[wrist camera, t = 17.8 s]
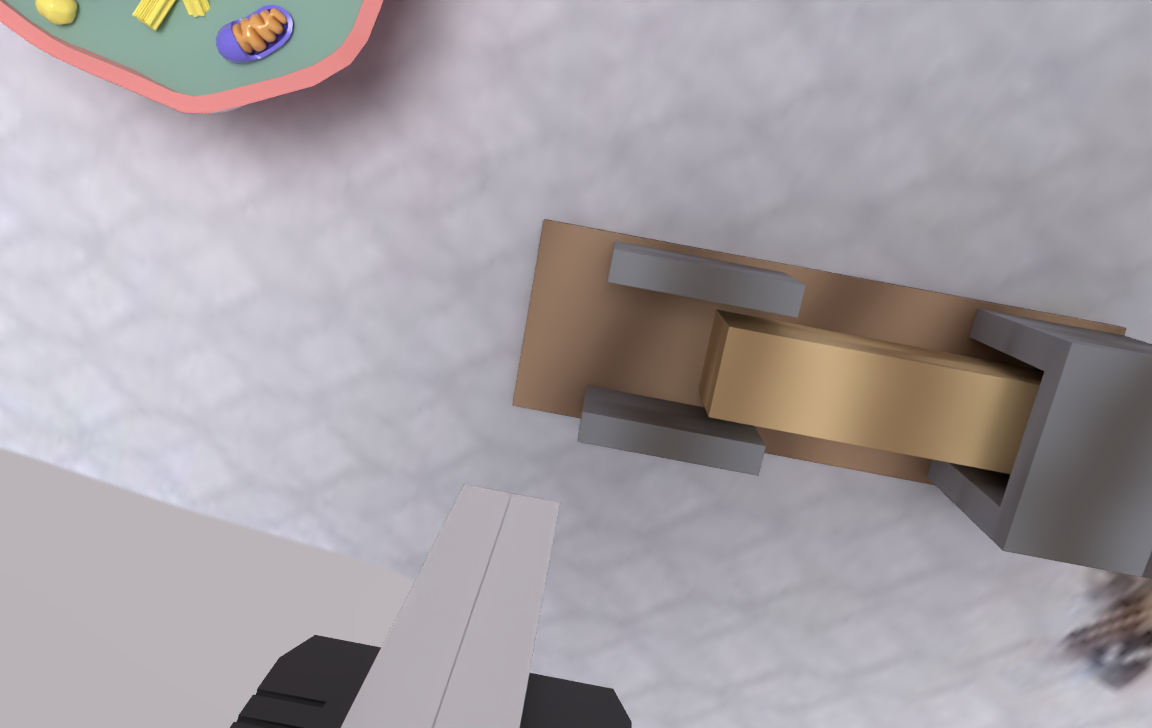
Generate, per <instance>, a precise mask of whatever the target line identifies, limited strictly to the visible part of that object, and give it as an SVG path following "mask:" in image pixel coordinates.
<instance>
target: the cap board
mask: <svg viewBox="0 0 1152 728" xmlns="http://www.w3.org/2000/svg"><path fill="white" fill-rule="evenodd" d="M716 309H717V310H723V311H728V312H733V313H739V314H744V315H749V316H755V317H760V318H765V319H771V320H776V321H781V322H787V323H792V324H797V325H803V326H808V327H813V328H819V329H824V330H829V331H835V332H840V333H845V334H851V335H856V336H861V337H867V338H872V339H877V340H883V341H888V342H894V343H899V344H904V345H910V346H915V347H920V348H926V349H931V350H936V351H942V352H947V353H952V354H958V355H963V356H968V357H974V358H979V359H984V360H990V361H995V362H1000V363H1006V364H1011V365H1016V366H1022V367H1027V368H1032V369H1038V370H1043V371H1044V374H1043V377H1042V381H1041V384H1040V387H1039V390H1038V393H1037V396H1036V399H1035V402H1034V405H1033V408H1032V411H1031V414H1030V417H1029V420H1028V423H1027V426H1026V429H1025V432H1024V435H1023V439H1022V442H1021V445H1020V448H1019V451H1018V454H1017V457H1016V460H1015V463H1014V466H1013V469H1012V472H1011V474H1008V473H1002V472H997V471H992V470H986V469H981V468H976V467H970V466H965V465H960V464H954V463H949V462H944V461H939V460H933V459H928V458H923V457H917V456H912V455H907V454H901V453H896V452H891V451H886V450H880V449H875V448H870V447H864V446H859V445H854V444H848V443H843V442H838V441H833V440H827V439H822V438H817V437H811V436H806V435H801V434H795V433H790V432H785V431H779V430H774V429H769V428H764V427H758V426H753V425H748V424H742V423H737V422H732V421H726V420H721V419H716V418H711V417H708V414H707V412H706V409H705V406H704V404H703V401H702V398H701V396H700V393H699V390H698V389H699V385H700V380H701V376H702V371H703V367H704V362H705V358H706V353H707V349H708V344H709V340H710V335H711V331H712V327H713V322H714V318H715V313H716ZM1125 331H1126V328H1123V327H1120V326H1116V325H1110V324H1105V323H1100V322H1094V321H1089V320H1084V319H1078V318H1073V317H1067V316H1062V315H1057V314H1051V313H1046V312H1041V311H1035V310H1030V309H1024V308H1019V307H1014V306H1008V305H1003V304H998V303H992V302H987V301H981V300H976V299H971V298H965V297H960V296H955V295H949V294H944V293H938V292H933V291H928V290H922V289H917V288H912V287H906V286H901V285H895V284H890V283H885V282H879V281H874V280H869V279H863V278H858V277H852V276H847V275H842V274H836V273H831V272H826V271H820V270H815V269H809V268H804V267H799V266H793V265H788V264H783V263H777V262H772V261H766V260H761V259H756V258H750V257H745V256H740V255H734V254H729V253H723V252H718V251H713V250H707V249H702V248H697V247H691V246H686V245H680V244H675V243H670V242H664V241H659V240H654V239H648V238H643V237H637V236H632V235H627V234H621V233H616V232H611V231H605V230H600V229H594V228H589V227H584V226H578V225H573V224H568V223H562V222H557V221H551V220H546V219H545V220H544V221H543V227H542V233H541V239H540V245H539V251H538V256H537V262H536V268H535V274H534V280H533V286H532V292H531V298H530V304H529V310H528V316H527V322H526V328H525V334H524V340H523V346H522V352H521V357H520V363H519V369H518V375H517V381H516V387H515V393H514V399H513V406H518V407H523V408H529V409H534V410H539V411H545V412H550V413H555V414H561V415H566V416H571V417H577V418H581V422H580V428H579V435H578V441H577V442H583V443H588V444H593V445H598V446H604V447H609V448H614V449H620V450H625V451H630V452H636V453H641V454H646V455H651V456H657V457H662V458H667V459H673V460H678V461H683V462H688V463H694V464H699V465H704V466H710V467H715V468H720V469H726V470H731V471H736V472H741V473H747V474H752V475H757V476H758V475H759V471H760V467H761V463H762V459H763V455H764V453H768V454H773V455H778V456H783V457H789V458H794V459H799V460H805V461H810V462H815V463H821V464H826V465H831V466H836V467H842V468H847V469H852V470H858V471H863V472H868V473H874V474H879V475H884V476H890V477H895V478H900V479H905V480H911V481H916V482H921V483H927V484H932V485H936V486H937V487H938V488H939V489H940V490H941V491H942V492H943V493H944V494H945V495H946V496H947V497H948V498H949V499H950V500H951V501H952V502H953V503H954V504H956V505H957V506H958V507H959V508H960V509H961V510H962V511H963V512H964V513H965V514H966V515H967V516H968V517H969V518H970V519H971V520H972V521H973V522H974V523H975V524H976V525H977V526H978V527H979V528H980V529H981V530H982V531H983V532H984V533H985V534H986V535H987V536H988V537H989V538H990V539H992V540H993V541H994V542H995V543H996V544H997V545H998V546H999V547H1000V548H1001V549H1002V550H1003V551H1007V552H1012V553H1018V554H1023V555H1028V556H1034V557H1039V558H1044V559H1049V560H1055V561H1060V562H1065V563H1071V564H1076V565H1081V566H1086V567H1092V568H1097V569H1102V570H1108V571H1113V572H1118V573H1123V574H1129V575H1134V576H1139V577H1145V578H1150V579H1152V344H1149V343H1146V342H1143V341H1139V340H1136V339H1133V338H1130V337H1127V336H1124V334H1125Z"/></svg>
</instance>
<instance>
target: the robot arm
mask: <svg viewBox="0 0 1152 728" xmlns="http://www.w3.org/2000/svg"><path fill="white" fill-rule="evenodd" d="M559 507H560V502H555V501H550V500H544V499H539V498H534V497H529V496H523V495H518V494H513V493H507V492H502V491H497V490H492V489H486V488H481V487H476V486H471V485H465V484H464V485H463V487H462V489H461V491H460V493H459V495H458V497H457V499H456V501H455V503H454V505H453V507H452V509H451V511H450V513H449V515H448V517H447V519H446V521H445V523H444V525H443V527H442V529H441V531H440V533H439V535H438V537H437V539H436V540H435V542H434V544H433V546H432V548H431V550H430V552H429V554H428V556H427V558H426V560H425V562H424V564H423V566H422V568H421V570H420V572H419V574H418V576H417V578H416V580H415V582H414V584H413V586H412V588H411V590H410V592H409V594H408V596H407V598H406V600H405V602H404V604H403V606H402V608H401V610H400V612H399V614H398V616H397V618H396V620H395V621H394V623H393V625H392V627H391V629H390V631H389V633H388V635H387V637H386V640H385V641H384V643H383V645H382V647H381V648H380V647H375V646H370V645H365V644H360V643H354V642H349V641H344V640H339V639H333V638H328V637H323V636H318V635H314V636H313V637H311V638H310V639H308V640H306V641H305V642H303V643H302V644H300V645H299V646H297V647H295V648H294V649H292V650H291V651H289V652H288V653H286V654H284V655H283V656H281V657H280V658H279V659H278V660H277V662H276V663H275V665H274V666H273V667H272V669H271V670H270V672H269V673H268V675H267V676H266V677H265V679H264V680H263V681H262V683H261V684H260V686H259V687H258V689H257V693H256V695H253V696H252V697H251V698H250V700H249V701H248V703H247V704H246V705H245V707H244V708H243V710H242V711H241V713H240V714H239V717H238V720H237V722H233V724H232V725H231V727H230V728H632V727H631V720H630V718H629V717H628V715H627V713H626V711H625V709H624V708H623V706H622V704H621V702H620V700H619V699H618V697H617V695H616V693H615V691H614V690H613V689H611V688H606V687H600V686H595V685H590V684H585V683H580V682H574V681H569V680H564V679H559V678H554V677H548V676H543V675H538V674H533V673H529V672H530V667H531V661H532V656H533V650H534V645H535V639H536V634H537V628H538V623H539V617H540V612H541V606H542V601H543V595H544V590H545V584H546V579H547V573H548V568H549V562H550V557H551V551H552V546H553V540H554V535H555V529H556V524H557V518H558V513H559Z"/></svg>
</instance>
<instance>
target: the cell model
mask: <svg viewBox="0 0 1152 728" xmlns="http://www.w3.org/2000/svg"><path fill="white" fill-rule="evenodd" d="M382 3H383V0H0V22H2V23H3V24H4V25H6V26H7V27H8V28H10V29H11V30H13V31H14V32H15V33H17V34H18V35H20V36H21V37H22V38H24V39H25V40H26V41H28V42H29V43H31V44H32V45H34V46H36V47H38V48H39V49H41V50H43V51H44V52H46V53H48V54H50V55H51V56H53V57H55V58H57V59H60V60H62V61H64V62H66V63H68V64H71V65H73V66H75V67H77V68H79V69H81V70H84V71H86V72H88V73H90V74H92V75H95V76H97V77H100V78H102V79H105V80H107V81H110V82H112V83H114V84H117V85H119V86H122V87H124V88H126V89H129V90H131V91H133V92H135V93H138V94H140V95H142V96H144V97H147V98H149V99H151V100H154V101H156V102H159V103H161V104H163V105H166V106H168V107H171V108H173V109H176V110H178V111H180V112H183V113H219V112H228V111H232V110H235V109H238V108H240V107H242V106H243V105H247V104H250V103H254V102H258V101H261V100H265V99H268V98H272V97H276V96H279V95H283V94H286V93H290V92H294V91H297V90H301V89H304V88H308V87H312V86H315V85H316V84H318V83H320V82H321V81H323V80H325V79H326V78H328V77H330V76H332V75H333V74H335V73H337V72H338V71H340V70H342V69H343V68H345V67H347V66H348V65H350V64H351V63H352V62H353V60H354V59H355V58H356V56H357V55H358V53H359V52H360V51H361V49H362V48H363V47H364V45H365V44H366V42H367V41H368V39H369V36H370V34H371V31H372V29H373V26H374V24H375V21H376V19H377V16H378V13H379V11H380V8H381V6H382Z"/></svg>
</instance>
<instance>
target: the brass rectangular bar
mask: <svg viewBox="0 0 1152 728" xmlns="http://www.w3.org/2000/svg"><path fill="white" fill-rule="evenodd" d="M1043 374H1044V371H1043V370H1038V369H1032V368H1027V367H1022V366H1016V365H1011V364H1006V363H1000V362H995V361H990V360H984V359H979V358H974V357H968V356H963V355H958V354H952V353H947V352H942V351H936V350H931V349H926V348H920V347H915V346H910V345H904V344H899V343H894V342H888V341H883V340H877V339H872V338H867V337H861V336H856V335H851V334H845V333H840V332H835V331H829V330H824V329H819V328H813V327H808V326H803V325H797V324H792V323H787V322H781V321H776V320H771V319H765V318H760V317H755V316H749V315H744V314H739V313H733V312H728V311H723V310H717V309H716V313H715V318H714V322H713V327H712V331H711V335H710V340H709V344H708V349H707V353H706V358H705V362H704V367H703V371H702V376H701V380H700V385H699V389H698V390H699V393H700V396H701V398H702V401H703V404H704V406H705V409H706V412H707V414H708V417H711V418H716V419H721V420H726V421H732V422H737V423H742V424H748V425H753V426H758V427H764V428H769V429H774V430H779V431H785V432H790V433H795V434H801V435H806V436H811V437H817V438H822V439H827V440H833V441H838V442H843V443H848V444H854V445H859V446H864V447H870V448H875V449H880V450H886V451H891V452H896V453H901V454H907V455H912V456H917V457H923V458H928V459H933V460H939V461H944V462H949V463H954V464H960V465H965V466H970V467H976V468H981V469H986V470H992V471H997V472H1002V473H1008V474H1011V472H1012V469H1013V466H1014V463H1015V460H1016V457H1017V454H1018V451H1019V448H1020V445H1021V442H1022V439H1023V435H1024V432H1025V429H1026V426H1027V423H1028V420H1029V417H1030V414H1031V411H1032V408H1033V405H1034V402H1035V399H1036V396H1037V393H1038V390H1039V387H1040V384H1041V381H1042V377H1043Z"/></svg>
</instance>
